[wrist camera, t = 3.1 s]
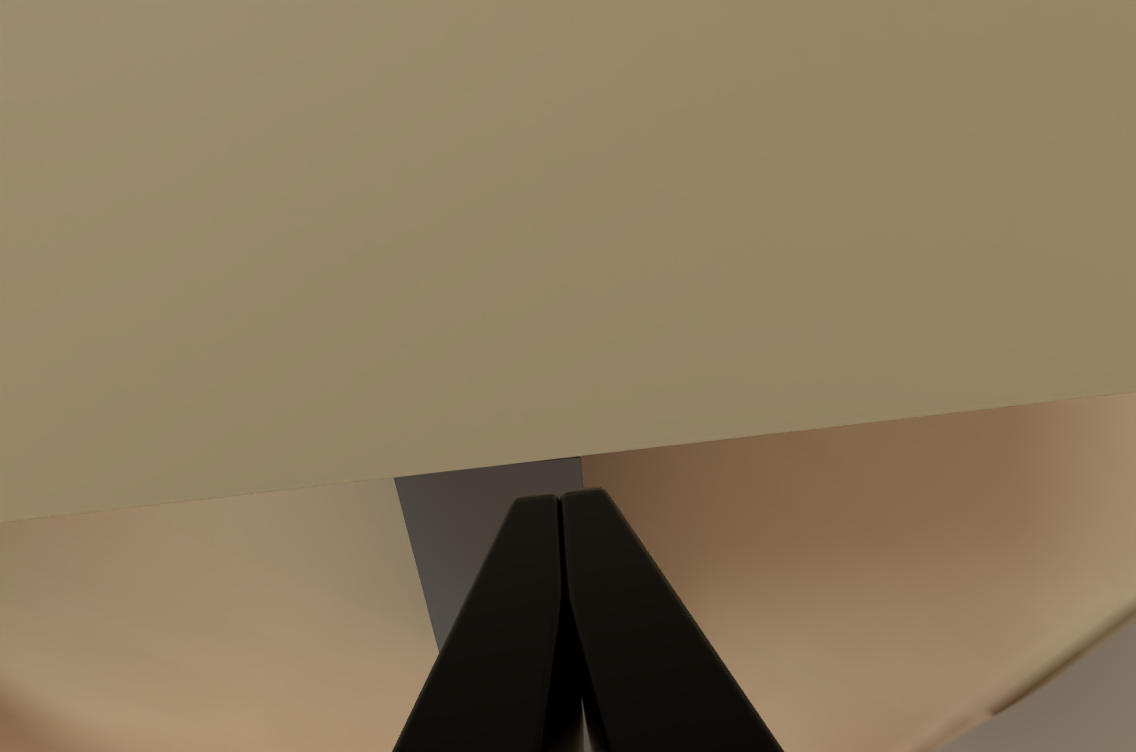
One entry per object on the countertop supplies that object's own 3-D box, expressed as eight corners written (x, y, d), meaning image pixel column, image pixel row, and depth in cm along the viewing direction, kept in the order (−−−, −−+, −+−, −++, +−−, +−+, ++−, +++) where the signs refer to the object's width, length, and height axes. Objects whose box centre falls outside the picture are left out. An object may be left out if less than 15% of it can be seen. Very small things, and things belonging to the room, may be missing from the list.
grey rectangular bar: (594, 629, 32) (607, 756, 28) (471, 640, 32) (469, 770, 28) (567, 333, 24) (580, 457, 21) (407, 348, 24) (393, 475, 21)
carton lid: (-197, -400, 11) (-258, -449, 10) (1109, -563, 11) (1154, -628, 10) (-4, 509, 12) (-43, 527, 11) (1135, 377, 12) (1176, 387, 11)
